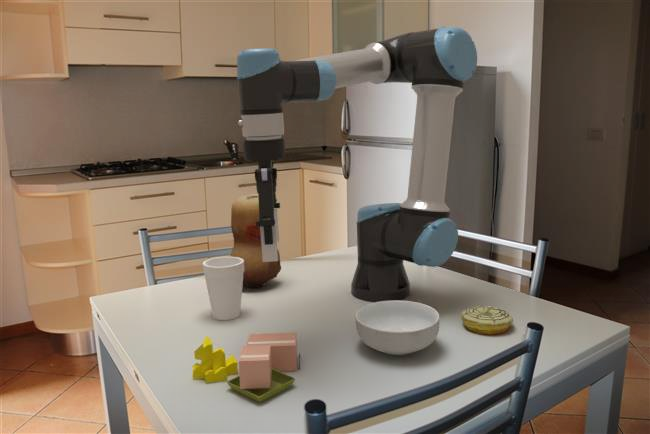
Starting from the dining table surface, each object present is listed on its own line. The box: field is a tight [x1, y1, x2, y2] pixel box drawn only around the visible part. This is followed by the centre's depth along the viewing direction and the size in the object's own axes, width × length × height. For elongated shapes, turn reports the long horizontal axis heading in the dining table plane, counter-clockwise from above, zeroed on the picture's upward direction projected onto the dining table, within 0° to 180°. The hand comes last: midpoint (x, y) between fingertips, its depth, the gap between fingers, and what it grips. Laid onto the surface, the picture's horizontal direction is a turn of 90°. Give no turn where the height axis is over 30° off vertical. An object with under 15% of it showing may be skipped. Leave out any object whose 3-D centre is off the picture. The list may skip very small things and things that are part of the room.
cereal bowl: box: [354, 299, 441, 356], centre depth 114 cm, size 17×17×7 cm
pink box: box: [238, 345, 272, 389], centre depth 98 cm, size 5×6×5 cm
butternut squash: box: [229, 193, 282, 288], centre depth 154 cm, size 14×13×25 cm
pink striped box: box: [246, 332, 301, 372], centre depth 108 cm, size 10×6×5 cm, turn 92°
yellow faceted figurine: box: [192, 335, 239, 384], centre depth 104 cm, size 6×8×8 cm
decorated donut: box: [461, 305, 514, 336], centre depth 124 cm, size 10×11×4 cm
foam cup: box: [202, 256, 244, 321], centre depth 133 cm, size 10×9×13 cm
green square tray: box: [226, 368, 296, 403], centre depth 99 cm, size 9×9×2 cm
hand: (271, 250), depth 108 cm, fingers open, 13 cm apart
